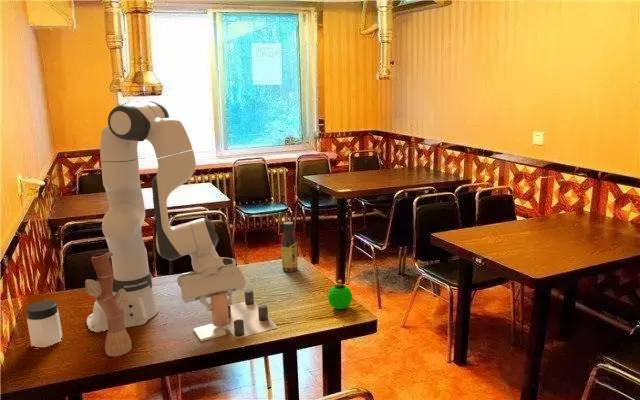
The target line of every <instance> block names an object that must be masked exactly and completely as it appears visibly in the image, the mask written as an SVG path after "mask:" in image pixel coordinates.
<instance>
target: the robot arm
mask: <svg viewBox="0 0 640 400" xmlns="http://www.w3.org/2000/svg"><path fill="white" fill-rule="evenodd" d="M184 126H185V125H184V124H183V123H182V122H181V120H180V119H177V118H174V117H170V115H169V112H168V111H167V109H166V108H165V107H164V106H163V105H162V104H160V103H158V102H154V101H134V102H130V103H122V104H120V105H117V106H115V107H114V108H113V109H112V110H111V111H110V112H109V113H108V117H107V126H105V127H104V128H102V131H101V135H100V144H99V148H100V149H99V154H100V155H99V156H100V166H101V176H102V185H103V188H104V189H105V193H106V197H107V201H108V210H107V211H106V212H105V214H104V216H103V218H102V222H101V230H102V233H103V235H104V236H105V237H104V238H105V240H106V241H105V242H106V243H107V247H108V250H109V252H111V253H112V254H113V255H112V256H111V257H110V258H111V266H112V269H113V273H114V278H113V289H112V294H113V296H115V295H116V293H117V292H118V291H119V290H120V289H124V290H125V291H126V293H127V295H128V303H127V305H126V307H125V308H124V309H123V312H124V324H125V328H131V327H136V326H142V325H145V324H146V323H147V322H148V321H149V320H151V319H152V318H154V317H155V316H156V315H157V314H159V307H158V306H157V303H156V300H155V298H154V297H155V296H154V293H153V289H152V288H153V280H152V274H151V272H150V268H149V259H148V253H147V248H146V246H145V242H144V238H143V233H142V227H143V226H142V224H143V223H144V221H145V219H146V208H145V200H144V197H143V196H144V195H143V190H142V186H141V179H140V178H141V177H140V164H139V155H138V154H139V153H138V144H139V142H144V141H145V140H146V141H147V142H149V143H150V144H151V145H152V147H153V150H154V154H155V157H156V162H157V171H156V172H157V173H156V175H155V176H154V177H153V178H152V181H151V189H152V190H151V191H152V204H153V205H152V206H153V211H154V212H153V213H154V221H155V227H156V229H155V230H156V236H155V245H156V251H157V253H158V254H159V256H160V257H161V258H163V259H165V260H168V261H171V262H172V261H174V260H177V259H179V258H182V257H183V256H187V255H189V256H190V258H191V266H192V269H193V271H188V272H183V273H181V274H180V275H179V276H177V278H176V282H177V285H178V287H179V288H180V294H181V295H180V296H181V299H182V301H183V302H184V303H186V304H187V303H191V302H195V301H199V300H200V304H202V305H203V306H204V307H205V309H206V311H207V312H212V309H213V307H212V304H211V302H210V303H209V302H208V301H207V299H208V298H210V297H211V295H213V294H216V293H225V294H226V295H227V297H228V298H227V304H228V306H231V305H232V304H233V300H232V298H233V294H234V292H238V291H242V290H243V289H245V287H246V284H247V282H246V279H245V276H244V274H243V271H242V270H241V268H240V267H239V266H237V265H236V264H237V261H236V259H235V258H233V257H232V258H231V257H223V256H222V257H221V256H219V254H218V252H217V250H216V247H217V245H218V242H219V239H220V238H219V236H218V233H217V231H216V227H215V223H214V222H213V221H212V220H210V219H208V218H206V217H202V218H198V219H195V220H191V221H188V222H185V223H181V224H177V225H174V226H173V225H172V226H171V225H170V223H169V221H170V220H169V213H168V212H169V211H168V198H169V196H170V195H171V194H172V193H173V192H174V191H175V190H176V189H178V188H179V187H180V186H182V185H183V184H184V183H186V182H188V181H189V179H191V178H192V176H193V175H194V173H195V171H196V167H197V163H196V158H195V152H194V149H193V146H192V143H191V142H192V141H191V140H190V138H189V135H188V133H187V131H186V129H185V127H184ZM86 326H88V327H87V328H88V330H89V329H90V330H89V331H91V332H93V331H94V332H93V333H101V331H102V332H107V331H106V330H108V322H107V316H106V314H105V312H104V311H103V309H102V308H101V307H100V305H99V304H98V302H97V300H96V299H95V301H94V304H93V310H92V313H90V314H89V315H88V316H87V318H86Z"/></svg>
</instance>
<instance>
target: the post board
mask: <svg viewBox="0 0 640 400" xmlns="http://www.w3.org/2000/svg"><path fill="white" fill-rule="evenodd" d="M254 299H255V298H254V290H252V289H248V290H245V291H244V301H241V302H237V303H232V305H231V306H228V318H229V323H228V324H227V325H225V326H226V328H227V330H228V331H229V332H230V334H231V335H232V337H233V338H234V339H235V340H237V339H241V338H245V337H248V336H253V335H257V334H260V333H265V332H269V331H273V330H277V329H279V327H278V325H276V323H275V322H274V321H273V320H272V319H271V318H270V317H269V310H268V309H269V308H268V305H265V304H262V305H259V304H258V303H257V302H256V301H255V300H254Z"/></svg>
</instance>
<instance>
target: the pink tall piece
mask: <svg viewBox="0 0 640 400" xmlns="http://www.w3.org/2000/svg"><path fill="white" fill-rule="evenodd" d="M112 255H113V254H112V253H111V252H110V251H107V252H97V253H95V254H94V255H92V256H91V258H90V259H91V263H92V265H93V268H94V270H95V274H96V280H95V279H90V278H89V279H88V278H87V279H85V281H84V287H85V290H86V293H87V294H88V295H89V296H91V297H95V301H96V300H97V302H98V304H99V305H100V307H101V308H102V309H103V311H104V312H105V314H106V316H107V322H108V331H107V334H106V336H105V340H104V341H105V342H104V350H105V351H104V352H105V354H106V356H109V357H112V356H113V357H120V356H123V355H126V354H127V353H130V351H132V350H133V345H132V340H131V337H130V335H129V333H128V331H127V329H126V328H127V327H126V328H125V324H124V312H123V309H124V308H125V307H126V305H127V303H128V295H127V293H126V291H125V290H124V289H120V290H119V291H118V292H117V293H116V295H115V296H113V294H112V289H113V278H114V273H113V267H112V262H111V260H110V258H111V256H112Z"/></svg>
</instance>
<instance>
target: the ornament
mask: <svg viewBox="0 0 640 400" xmlns="http://www.w3.org/2000/svg"><path fill="white" fill-rule="evenodd" d="M342 282H343V281H342V279H338V280H337V284H336V285H334V286H332V287H331V288H330V289H329V291H328V295H327V299H328V303H329V304H330V305H331V306H332V307H333V308H334V309H336V310H343V309H346V308H347V307H348V306H350V305H351V303H352V300H353V294H352V291H351V289H350V288H349V287H347V286H346V285H345V284H343V283H342Z"/></svg>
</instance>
